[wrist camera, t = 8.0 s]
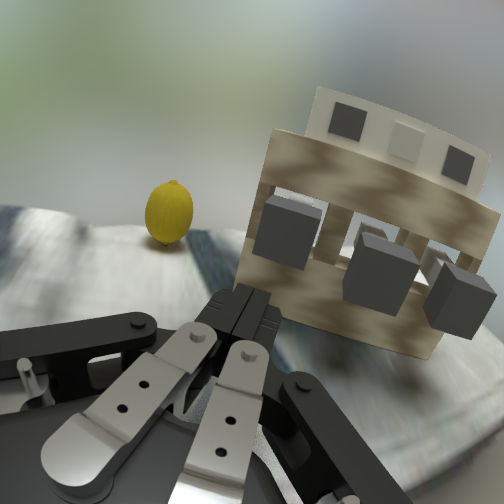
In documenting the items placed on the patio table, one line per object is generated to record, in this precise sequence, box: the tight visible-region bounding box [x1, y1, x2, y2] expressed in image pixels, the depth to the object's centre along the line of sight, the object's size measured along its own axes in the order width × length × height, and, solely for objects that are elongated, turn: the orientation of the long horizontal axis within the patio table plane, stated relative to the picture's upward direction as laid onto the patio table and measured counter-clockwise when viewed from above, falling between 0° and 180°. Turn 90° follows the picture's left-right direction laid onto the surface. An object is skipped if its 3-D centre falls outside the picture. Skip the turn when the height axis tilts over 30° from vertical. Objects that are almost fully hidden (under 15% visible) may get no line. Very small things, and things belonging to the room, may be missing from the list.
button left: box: [252, 194, 322, 271], centre depth 27 cm, size 4×10×4 cm, turn 164°
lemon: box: [145, 180, 193, 245], centre depth 35 cm, size 6×6×8 cm
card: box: [304, 86, 492, 202], centre depth 22 cm, size 16×1×4 cm, turn 74°
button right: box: [420, 246, 497, 340], centre depth 22 cm, size 4×10×4 cm, turn 164°
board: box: [232, 128, 501, 360], centre depth 28 cm, size 21×6×16 cm, turn 74°
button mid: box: [342, 222, 421, 317], centre depth 23 cm, size 4×10×4 cm, turn 164°
